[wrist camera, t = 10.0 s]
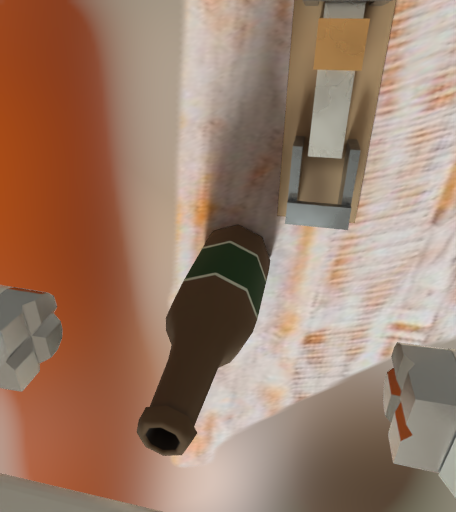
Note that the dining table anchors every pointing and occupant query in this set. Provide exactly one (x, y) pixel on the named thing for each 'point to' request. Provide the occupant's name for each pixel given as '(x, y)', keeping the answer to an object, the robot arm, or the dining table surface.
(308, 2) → the socket
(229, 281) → the beer bottle
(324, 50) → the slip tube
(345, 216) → the grey u-shaped bracket
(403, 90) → the dining table surface
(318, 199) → the board
